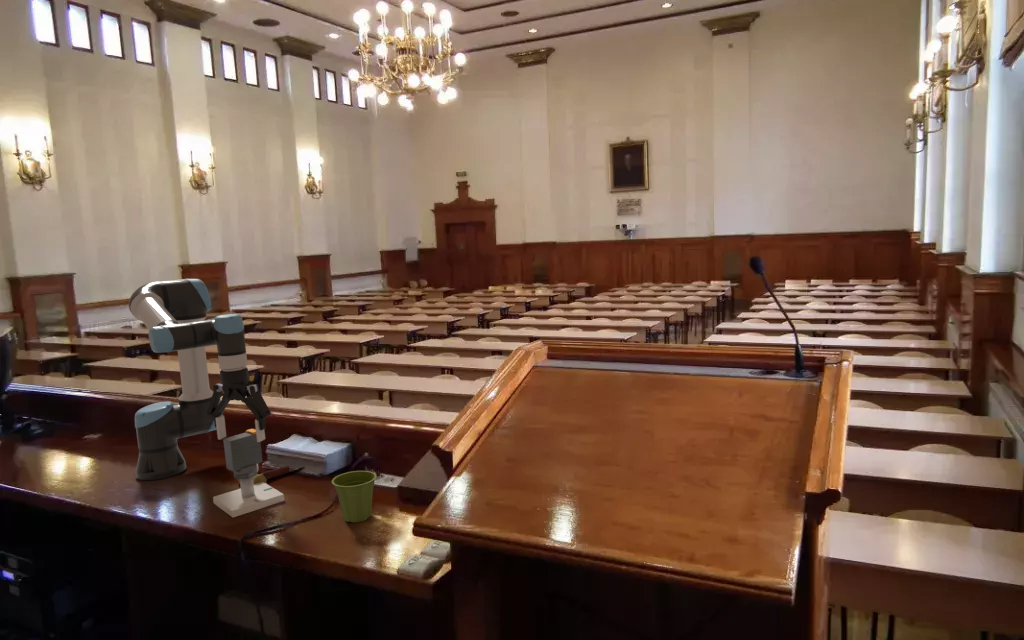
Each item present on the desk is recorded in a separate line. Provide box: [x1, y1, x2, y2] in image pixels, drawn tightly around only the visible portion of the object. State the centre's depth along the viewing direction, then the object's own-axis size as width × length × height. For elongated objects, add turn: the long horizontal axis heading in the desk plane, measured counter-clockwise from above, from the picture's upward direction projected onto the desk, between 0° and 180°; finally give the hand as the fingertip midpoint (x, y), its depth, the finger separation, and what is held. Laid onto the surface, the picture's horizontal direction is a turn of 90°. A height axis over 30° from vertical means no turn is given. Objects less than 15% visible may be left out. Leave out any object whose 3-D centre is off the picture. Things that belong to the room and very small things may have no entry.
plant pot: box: [331, 470, 378, 524], centre depth 179 cm, size 12×12×11 cm
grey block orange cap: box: [222, 428, 264, 480], centre depth 192 cm, size 9×6×13 cm
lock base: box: [212, 477, 285, 518], centre depth 194 cm, size 15×15×8 cm
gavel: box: [236, 465, 290, 484], centre depth 213 cm, size 21×5×10 cm
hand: (241, 439), depth 192 cm, fingers open, 13 cm apart
